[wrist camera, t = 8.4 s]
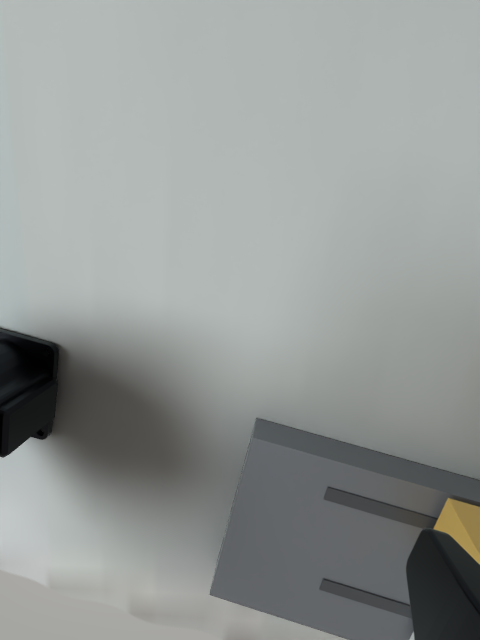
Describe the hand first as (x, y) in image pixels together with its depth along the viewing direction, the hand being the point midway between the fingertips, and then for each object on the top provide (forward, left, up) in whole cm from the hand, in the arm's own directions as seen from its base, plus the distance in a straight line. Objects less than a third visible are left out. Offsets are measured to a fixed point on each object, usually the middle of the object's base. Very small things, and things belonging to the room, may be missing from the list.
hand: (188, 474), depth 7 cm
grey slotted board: (+9, -12, -13) cm, 20 cm away
